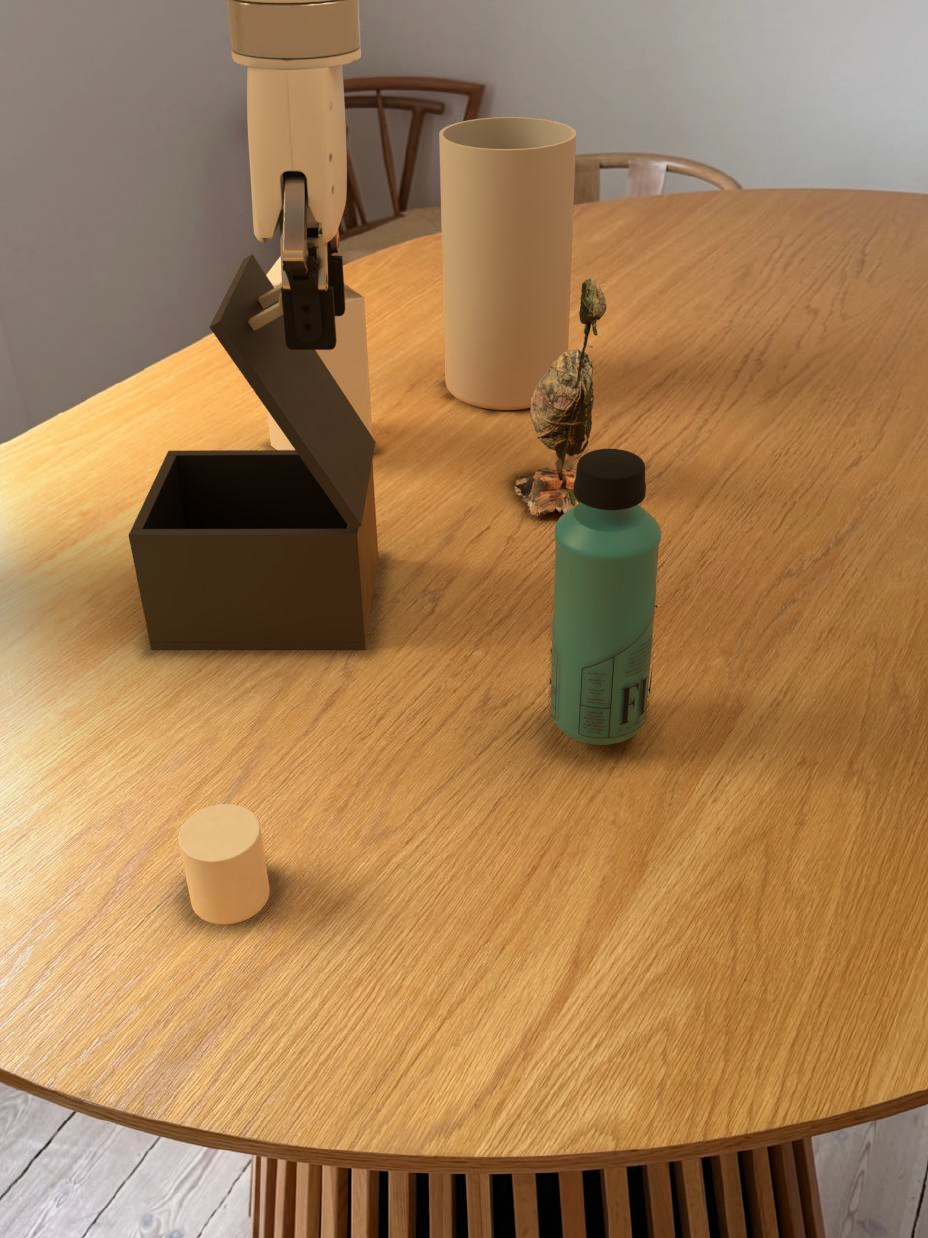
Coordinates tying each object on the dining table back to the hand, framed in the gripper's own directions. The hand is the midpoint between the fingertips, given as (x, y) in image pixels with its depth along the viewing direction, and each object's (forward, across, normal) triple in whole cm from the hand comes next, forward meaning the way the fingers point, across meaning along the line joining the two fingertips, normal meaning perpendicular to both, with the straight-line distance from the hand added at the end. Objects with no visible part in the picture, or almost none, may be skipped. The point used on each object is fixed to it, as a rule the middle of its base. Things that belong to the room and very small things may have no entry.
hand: (316, 328), depth 80 cm
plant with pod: (+22, -17, +18) cm, 33 cm away
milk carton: (+22, -26, -4) cm, 34 cm away
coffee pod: (+22, +30, -3) cm, 37 cm away
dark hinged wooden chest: (+22, 0, -5) cm, 23 cm away
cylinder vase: (+22, -40, +13) cm, 47 cm away
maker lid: (+5, 0, -2) cm, 5 cm away
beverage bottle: (+22, +15, +19) cm, 33 cm away
